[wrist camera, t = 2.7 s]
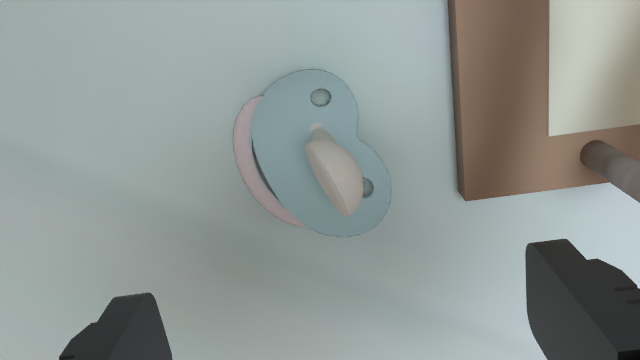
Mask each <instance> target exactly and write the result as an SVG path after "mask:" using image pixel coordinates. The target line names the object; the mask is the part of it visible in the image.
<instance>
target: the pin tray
mask: <svg viewBox="0 0 640 360" xmlns="http://www.w3.org/2000/svg"><path fill="white" fill-rule="evenodd" d="M448 10H449V28H450V46H451V64H452V82H453V100H454V118H455V136H456V154H457V172H458V190H459V193H460V194H461V195H462V197H463V198H464V200H465V201H471V200H478V199H486V198H494V197H501V196H509V195H517V194H524V193H532V192H539V191H547V190H555V189H562V188H570V187H578V186H585V185H593V184H600V183H608V182H610V183H612V184H613V185H615V186H616V187H618V188H619V189H620V190H622V191H623V192H625V193H626V194H628V195H629V196H631V197H632V198H634V199H635V200H637V201H638V202H639V203H640V0H448Z"/></svg>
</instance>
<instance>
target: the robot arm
mask: <svg viewBox="0 0 640 360" xmlns="http://www.w3.org/2000/svg"><path fill="white" fill-rule="evenodd" d="M525 257H526V297H527V314H528V319H529V324H530V327H531V330H532V333H533V335H534V337H535V339H536V341H537V343H538V344H539V346H540V348H541V349H542V351H543V353H544V355H545V356H546V358H547V360H640V289H638V288H637V285H636V284H635V283H634V282H633V281H632V280H631V279H630V278H629V277H628V276H627V275H626V274H625V273H624V272H623V271H622V270H620V269H618V268H616V267H614V266H612V265H610V264H608V263H606V262H603V261H601V260H599V259H591V260H586V259H585V257H584V256H583V255H582V254H581V253H580V252H579V251H578V250H577V249H576V248H575V247H574V246H573V245H572V244H571V243H570V242H569V241H568V240H567V239H558V240H551V241H543V242H535V243H529V244H528V245H527V247H526V255H525ZM59 360H172V354H171V350H170V346H169V343H168V340H167V336H166V333H165V330H164V326H163V323H162V320H161V316H160V313H159V310H158V306H157V303H156V300H155V298H154V296H153V295H152V294H151V293H142V294H134V295H127V296H119V297H115V298H113V299H112V300H111V302H110V303H109V305H108V306H107V308H106V309H105V311H104V312H103V314H102V315H101V317H100V318H99V320H98V321H97V322H96V323H91V324H90V325H88V326H87V327H86V328H85V329H84V330H82V331H81V332H80V333H79V334H77V335H76V336H75V337H74V338H73V339H71V341H70V342H69V344H68V345H67V346H66V348H65V349H64V351H63V352H62V354H61V355H60V356H59Z"/></svg>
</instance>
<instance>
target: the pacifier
mask: <svg viewBox="0 0 640 360" xmlns="http://www.w3.org/2000/svg"><path fill="white" fill-rule="evenodd" d="M319 88H323V89H326V90H328V91H329V92H330V94H331V100H330V102H329V103H328V104H326V105H324V106H317V105H315V104H314V103H313V102H312V101H311V98H310V96H311V94H312V92H313V91H315V90H316V89H319ZM357 123H358V111H357V104H356V101H355V98H354V96H353V94H352V92H351V90H350V89H349V87H348V86H347V85H346V84H345V83H344V82H343V81H342V80H341V79H340V78H338V77H337V76H335V75H333V74H332V73H329V72H326V71H322V70H314V69H308V70H301V71H297V72H294V73H291V74H289V75H287V76H285V77H283V78H281V79H280V80H278V81H277V82H276V83H274V84H273V85H272V86H271V87H270V88H269V89H268V90H267V91H266V92H265V94H264V95H263V96H259V97H255V98H253V99H252V100H250V101H249V102H248V103H247V104H245V105H244V106H243V108H242V109H241V111H240V113H239V114H238V116H237V118H236V122H235V127H234V131H233V146H234V153H235V157H236V161H237V166H238V168H239V170H240V173H241V175H242V177H243V179H244V182H245V184H246V185H247V187H248V188H249V190H250V191H251V193H252V194H253V195H254V197H255V198H256V199H257V200H258V201H259V202H260V204H261V205H262V206H263V207H264V208H265V209H266V210H267V211H269V212H270V213H271V214H273V215H274V216H276V217H277V218H279V219H280V220H282V221H285V222H287V223H290V224H292V225H295V226H305V227H308V228H310V229H312V230H314V231H316V232H318V233H321V234H325V235H329V236H336V237H351V236H357V235H360V234H362V233H365V232H367V231H369V230H370V229H372V228H374V227H375V226H376V225H377V224H378V223H379V222H380V221H381V220H382V218H383V217H384V215H385V214H386V212H387V209H388V206H389V204H390V198H391V182H390V178H389V174H388V171H387V169H386V167H385V165H384V163H383V161H382V160H381V159H380V157H379V156H378V155H377V154H376V152H375V151H373V150H372V149H371V148H370V147H369V146H368V145H366V144H365V143H363V142H361V141H360V140H359V139H358V137H357V135H356V128H357ZM254 150H255V152H254ZM255 153H256V156H255ZM256 157H257V160H258V163H259V165H260V167H261V170H262V172H263V174H264V176H265V177H264V176H263V174H262V172H261V170H260V168H259V166H258V163H257V160H256ZM265 178H266V179H265ZM363 178H367V179H369V180H370V181H371V182H372V183H373V190H372V192H371V194H369V195H368V196H363V191H364V182H363ZM266 180H267V181H266ZM268 183H269V184H268Z"/></svg>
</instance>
